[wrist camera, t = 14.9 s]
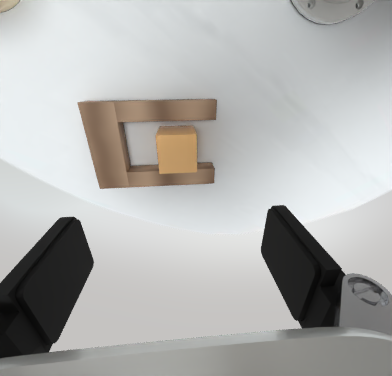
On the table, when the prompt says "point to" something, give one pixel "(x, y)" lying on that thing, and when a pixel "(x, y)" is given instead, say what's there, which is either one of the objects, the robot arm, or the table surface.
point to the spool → (7, 4)
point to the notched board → (117, 147)
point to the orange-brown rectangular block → (176, 149)
